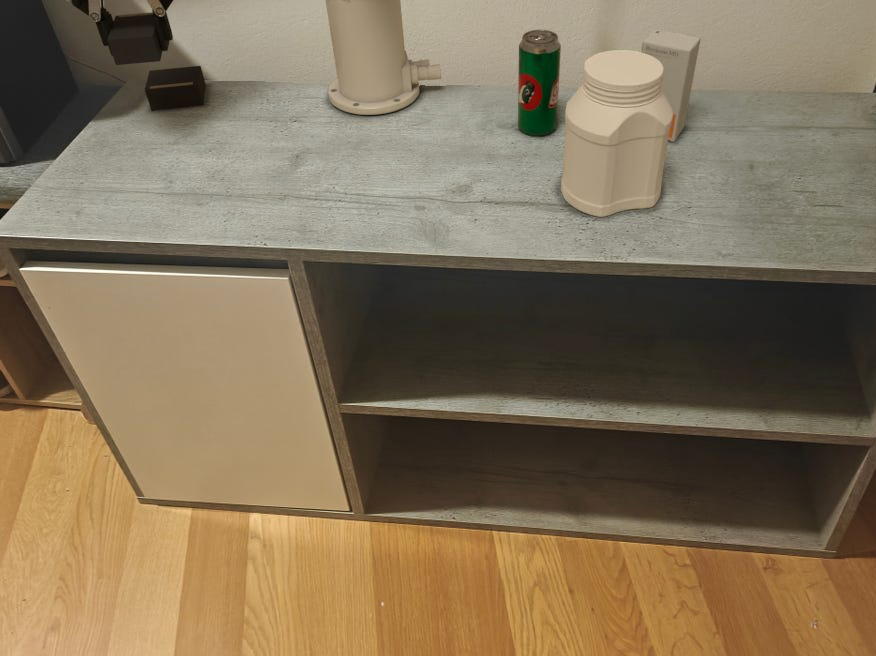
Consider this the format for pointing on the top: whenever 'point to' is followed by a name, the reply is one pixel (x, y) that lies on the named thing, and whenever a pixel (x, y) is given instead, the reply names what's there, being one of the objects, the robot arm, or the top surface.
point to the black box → (134, 39)
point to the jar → (616, 134)
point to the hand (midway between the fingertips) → (140, 47)
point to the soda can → (538, 82)
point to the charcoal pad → (175, 88)
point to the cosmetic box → (674, 71)
